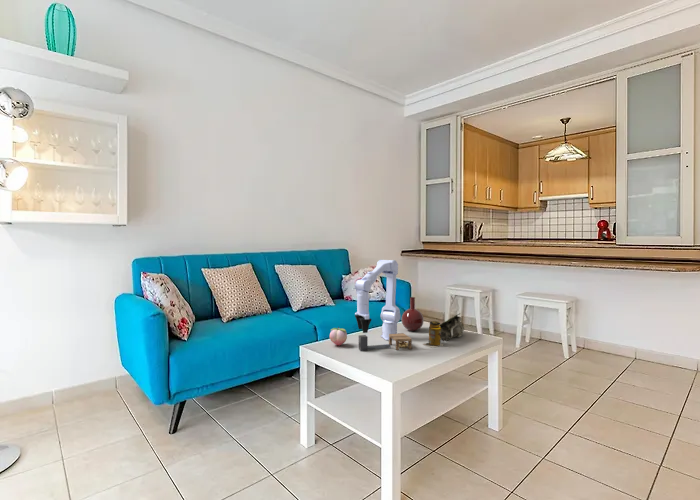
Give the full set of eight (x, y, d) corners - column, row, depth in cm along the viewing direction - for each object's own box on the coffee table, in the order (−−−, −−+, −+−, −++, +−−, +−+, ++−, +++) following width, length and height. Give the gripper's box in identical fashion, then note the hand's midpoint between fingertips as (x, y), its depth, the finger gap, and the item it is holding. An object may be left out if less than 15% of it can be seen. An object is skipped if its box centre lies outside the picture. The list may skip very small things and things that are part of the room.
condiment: (444, 345, 200) (444, 322, 200) (432, 347, 196) (432, 324, 195) (433, 342, 207) (434, 319, 206) (422, 344, 202) (422, 321, 201)
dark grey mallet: (358, 349, 194) (358, 335, 194) (389, 346, 198) (389, 333, 198) (360, 351, 190) (360, 337, 190) (391, 348, 194) (391, 335, 194)
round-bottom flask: (412, 327, 241) (412, 295, 240) (428, 331, 230) (428, 298, 229) (397, 330, 233) (397, 297, 233) (412, 334, 222) (412, 300, 222)
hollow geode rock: (440, 351, 205) (459, 334, 198) (424, 332, 210) (442, 315, 203) (459, 338, 227) (477, 323, 220) (444, 322, 232) (461, 306, 225)
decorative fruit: (349, 343, 203) (349, 325, 203) (345, 348, 195) (344, 328, 195) (332, 342, 206) (332, 324, 205) (327, 346, 198) (327, 327, 198)
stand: (388, 344, 202) (388, 334, 202) (403, 343, 204) (403, 333, 204) (396, 350, 192) (396, 339, 192) (411, 349, 194) (411, 338, 194)
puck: (396, 346, 200) (396, 341, 200) (405, 345, 201) (405, 341, 201) (400, 348, 195) (400, 344, 195) (409, 348, 196) (409, 343, 196)
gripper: (351, 301, 198) (351, 328, 198) (359, 306, 184) (359, 334, 184) (364, 301, 199) (364, 327, 200) (373, 306, 185) (373, 333, 186)
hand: (362, 330), depth 192 cm, fingers open, 7 cm apart
